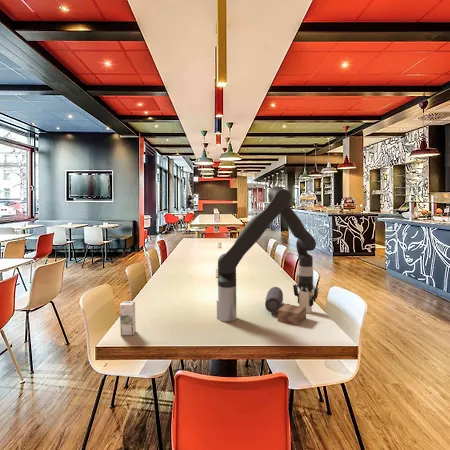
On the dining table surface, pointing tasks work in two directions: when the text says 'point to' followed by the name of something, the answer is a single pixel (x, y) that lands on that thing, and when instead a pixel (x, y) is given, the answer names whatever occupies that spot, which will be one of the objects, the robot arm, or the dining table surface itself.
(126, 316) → the syrup box
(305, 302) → the cream carton
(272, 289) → the bluetooth speaker
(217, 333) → the dining table surface
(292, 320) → the walnut block
